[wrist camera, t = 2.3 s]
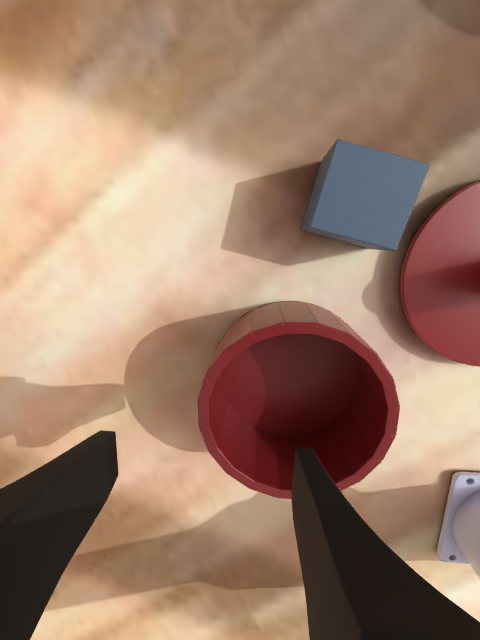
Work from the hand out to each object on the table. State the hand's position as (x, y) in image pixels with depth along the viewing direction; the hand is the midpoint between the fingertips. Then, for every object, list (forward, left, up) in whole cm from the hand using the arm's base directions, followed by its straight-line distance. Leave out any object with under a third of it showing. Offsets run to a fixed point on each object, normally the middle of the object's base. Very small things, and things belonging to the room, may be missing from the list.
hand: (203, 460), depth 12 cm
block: (-7, -10, -10) cm, 16 cm away
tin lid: (-16, -6, -9) cm, 20 cm away
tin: (-4, +1, -10) cm, 11 cm away
